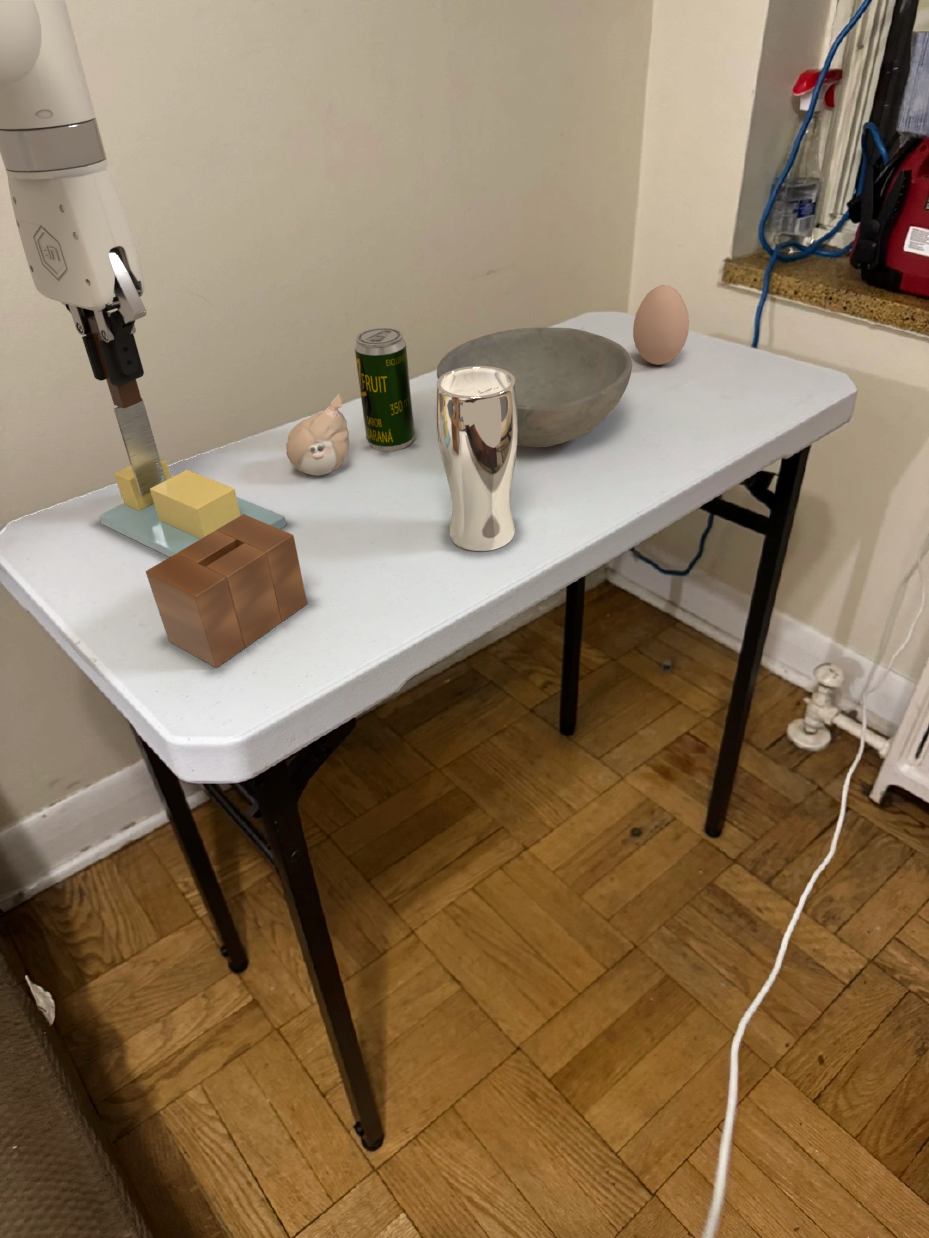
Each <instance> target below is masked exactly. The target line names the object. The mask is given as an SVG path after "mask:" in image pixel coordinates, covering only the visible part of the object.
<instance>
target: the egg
mask: <svg viewBox="0 0 929 1238" xmlns="http://www.w3.org/2000/svg"><path fill="white" fill-rule="evenodd" d="M686 304H687V303H686V302H685V300H684V297H683V296H682V294H681V293H680V292H679V291H678V289H676V288H675V287H673V286H671V285H668V284H662V285H659V286H656V287H654V288H653V289H651V290H649V292H648V293H646V295H645V297H644V298H643V300H642V301H641V302H640V305H639V307H638V309H637V311H636V313H635V315H634V320H633V327H632V336H633V337H632V338H633V342H634V346H635V348H636V350H637V352H638V354H639V355H640V356H641V358H643V359H644V360H645V361H646V362H648V363H650V364H651V365H655V366H661V365H666V364H668V363H670V362H671V361H673V360H674V359H675V358H676V357H677V356H678V355H679V354H680V353H681V351H682V350H683V348H684V347H685V345H686V343H687V341H688V336H689V332H690V331H689V330H690V329H689V328H690V316H689V311H688V308H687V305H686Z"/></svg>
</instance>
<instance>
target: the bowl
mask: <svg viewBox="0 0 929 1238" xmlns="http://www.w3.org/2000/svg"><path fill="white" fill-rule="evenodd" d="M470 366H489V367H496V368H500V369H503V370H506V371H508V372H510V373H511V374H512V375H513V376H514V378H515V389H516V398H517V409H518V445H517V446H520V447H526V448H547V447H548V448H549V447H553V446H557V445H560V444H561V445H562V444H563V443H566V442H569V441H572V440H575V439H577V438H579V437H582V436H585V434H587V433H588V432H590V431H591V430H593V429H594V428H596V427H597V426H599V424H601V422H603V421H604V420H605V419H606V418H607V416H608V415H609V414H610V413H611V412H612V411H613V410H614V409H615V407H616V406H617V405H618V403H619V402H620V401H621V399H622V398H623V395H624V394H625V392H626V390H627V387H628V385H629V383H630V379H631V375H632V371H633V360H632V357H631V355H630V353H629V352H628V350H627V349H626V348H625V347H624V346H623V345H621V344H619V342H617V341H614V340H613V339H610V338H607V337H605V336H602V335H600V334H596V333H592V332H589V331H586V330H582V329H577V328H571V327H523V328H522V327H521V328H514V329H507V330H503V331H498V332H494V333H489V334H486V335H482V336H479V337H476V338H473V339H471V340H468V341H466V342H464V343H462V344H460V345H457V346H456V347H454V348H452V349H451V350H450V351H448V352H447V353H446V354H445V355H444V356H443V357H442V358H441V360H440V361H439V363H438V365H437V367H436V377H437V380H438V379H439V378H440V377H441V376H442V375H443V374H445V373H447V372H449V371H452V370H455V369H458V368H463V367H470Z"/></svg>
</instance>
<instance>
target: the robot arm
mask: <svg viewBox="0 0 929 1238" xmlns="http://www.w3.org/2000/svg"><path fill="white" fill-rule="evenodd" d="M0 156H1V159H2V162H3V166H4V168H5V172H6V176H7V182H8V183H7V184H8V189H9V195H10V200H11V205H12V210H13V214H14V218H15V222H16V226H17V230H18V233H19V237H20V240H21V245H22V248H23V252H24V255H25V258H26V262H27V266H28V268H29V272H30V274H31V278H32V281H33V284H34V287H35V289H36V290H37V292H38V293H39V294H40V295H42V296H43V297H45V298H47V299H50V300H53V301H54V302H55V301H56V302H59V303H61V304H62V305H63V306H64V307H65V308H66V310H67V311H68V312H69V313H70V315H71V317H72V320H73V323H74V326H75V329H76V331H77V333H78V334H79V335H80V336H81V339H82V342H83V345H84V348H85V351H86V355H87V357H88V358H87V359H88V361H89V364H90V367H91V370H92V374H93V377H94V379H95V380H98V381H100V382H101V381H105V380H106V377H105V374H104V370H103V367H102V364H101V361H100V357H99V354H98V351H97V348H96V344H95V341H94V338H93V335H92V331H91V328H90V325H89V322H88V318H89V317H92V316H95V317H96V321H97V324H98V328H99V331H100V335H101V337H102V339H103V340H102V341H99V342H98V343H99V347H100V350H101V353H102V357H103V360H104V363H105V366H106V370H107V373H108V376H109V380H110V382H111V384H112V385H115V386H120V385H122V384H125V383H127V382H130V381H132V380H135V379H136V380H137V379H139V378H142V377H143V376H144V374H145V371H144V366H143V363H142V360H141V357H140V353H139V349H138V346H137V342H136V337H135V334H136V332H137V331H136V330H137V329H136V325H135V323H136V321H138V320H140V319H142V318H144V317H146V316H147V311H146V308H145V306H144V304H143V303H144V302H143V301H142V298H141V297H142V296H143V295H144V293H145V281H144V276H143V272H142V266H141V262H140V259H139V255H138V252H137V248H136V245H135V240H134V237H133V235H132V232H131V228H130V226H129V222H128V220H127V216H126V213H125V211H124V207H123V204H122V202H121V199H120V197H119V194H118V192H117V189H116V186H115V183H114V182H113V179H112V176H111V174H110V171H109V169H108V167H109V161H108V157H107V155H106V151H105V147H104V143H103V139H102V136H101V132H100V129H99V123H98V121H97V118H96V112H95V109H94V106H93V101H92V97H91V93H90V89H89V86H88V83H87V79H86V75H85V71H84V67H83V64H82V60H81V56H80V52H79V48H78V45H77V40H76V37H75V33H74V29H73V26H72V22H71V18H70V13H69V10H68V7H67V2H66V0H0ZM110 311H111V312H110ZM107 312H110V313H111V315H110V317H109V316H108V313H107Z"/></svg>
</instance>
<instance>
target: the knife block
mask: <svg viewBox="0 0 929 1238" xmlns="http://www.w3.org/2000/svg"><path fill="white" fill-rule="evenodd" d="M145 575H146V577H147V580H148V583H149V586H150V589H151V593H152V595H153V598H154V601H155V604H156V607H157V611H158V614H159V616H160V619H161V622H162V625H163V628H164V632H165V634H166V637H167V640H168V642H170V643H171V644H173V645H174V646H176V647H178V648H180V649H182V650H183V651H186V652H187V653H189V654H191V656H192V655H193V656H194V657H196V658H197V659H200V660H202V661H203V662H204V663H207V664H208V665H210V666H212V667H214V668H216V669H217V668H219V667H220V666H222V665H223V664H224V663H226V662H227V661H229V660H230V659H232V658H233V657H234V656H236V655H237V654H239V653H240V652H242V651H243V650H244V649H245V648H247V647H249V646H251V644H253V643H254V642H256V641H257V640H259V639H260V638H261V637H263V636H264V635H266V634H267V633H269V632H270V631H271V630H273V629H274V628H276V627H277V626H278V625H280V624H282V622H284V621H287V619H288V618H290V617H291V616H293V615H295V613H297V612H298V611H300V610H301V609H303V608H304V607H306V606H307V605H308V600H307V594H306V590H305V585H304V580H303V575H302V570H301V566H300V561H299V555H298V550H297V545H296V540H295V536H294V534H293V533H291V532H288V531H286V530H283V529H282V528H281V529H278V528H276V527H274V526H271V525H269V524H266V523H264V522H262V521H259V520H257V519H254V518H252V517H250V516H247V515H245V514H243V515H241V516H239V517H238V518H236V519H234V520H233V521H231V522H229V523H227V524H226V525H224V526H222V527H220V528H219V529H217V530H216V531H214V532H212V533H210V534H209V535H207V536H205V537H203V538H202V539H200V540H198V541H197V542H195V543H193V544H191V545H190V546H188V547H186V548H185V549H183V550H181V551H179V552H178V553H177V554H174V555H173V556H171V557H169V556H168V558H166V559H164V560H163V561H160V562H159V563H157V564H156V565H154V566H152V567H150V568H149V569H147V570H145Z"/></svg>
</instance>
